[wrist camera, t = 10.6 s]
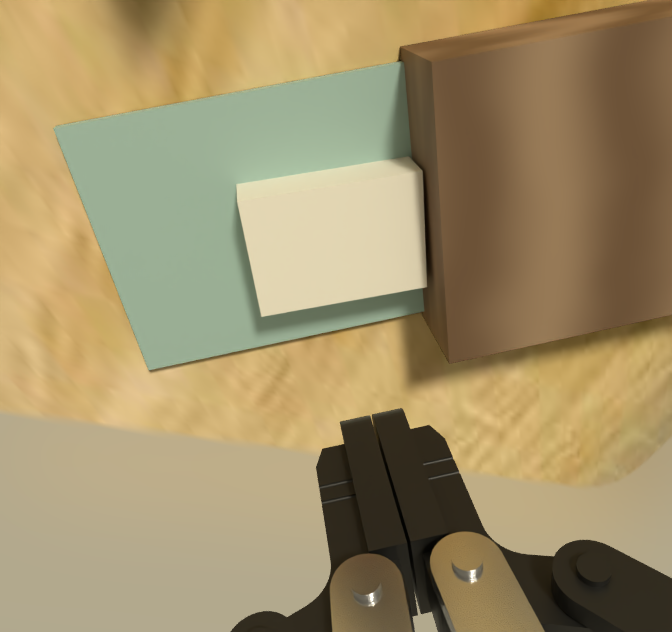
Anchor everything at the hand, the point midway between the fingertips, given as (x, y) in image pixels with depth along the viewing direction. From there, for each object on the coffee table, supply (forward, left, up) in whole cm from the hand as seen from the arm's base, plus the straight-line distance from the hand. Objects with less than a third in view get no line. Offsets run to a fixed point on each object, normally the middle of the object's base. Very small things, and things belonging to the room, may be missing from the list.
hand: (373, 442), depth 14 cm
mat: (+2, 0, -13) cm, 13 cm away
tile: (-1, 0, -13) cm, 13 cm away
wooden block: (-12, 0, -13) cm, 18 cm away
